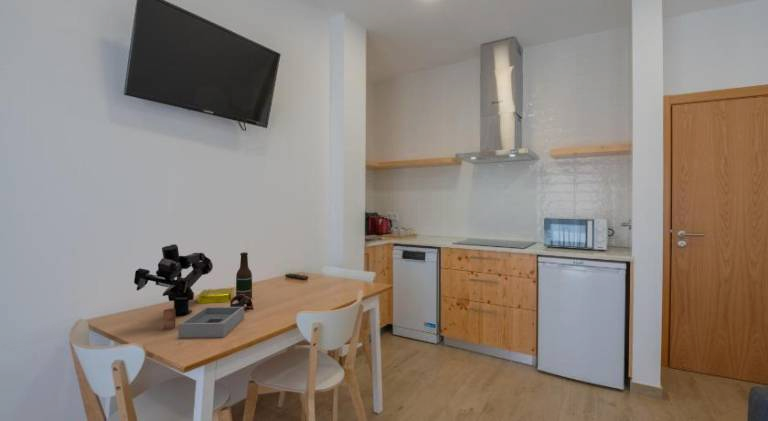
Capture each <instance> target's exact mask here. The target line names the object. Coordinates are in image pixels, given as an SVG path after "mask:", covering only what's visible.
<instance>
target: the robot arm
mask: <svg viewBox="0 0 768 421" xmlns="http://www.w3.org/2000/svg"><path fill="white" fill-rule="evenodd" d="M161 252H162V257H163V258H161V259H160V261H159V262H158V264H157V270H156V271H155V274H151V273H150V270H149V269H145V268H141V267H140V268H138V269H136V270H135V273H134V279H133V283H134V285H136V286H137V287H136V291H140V290H142V289H143V288H145V286H146V285H147V284H148V282H149V281H150V282H155V286H161V287H165V288H166V289H165V290H164V291H163V293H162V297H168V302H173V309H175V317H176V316H177V317H178V316H187V315H188V314H191V313H192V312H193V310H192V309H191V310H190V309H189V308H190V301H192V300H194V297H195V292H194V291H193V289H192V287H193V285H195V283H197V282H198V280H199V279H200V278H202V276H203V275H208V274H210V273H211V271H212V270H213V263H212V260H211V259H210V258H209V257H207V256H206V255H205V253H204V252H192V253H191V254H187V255H180V252H179V246H178V245H177V244H175V243H174V244H171V245H166V246H163V247H161ZM189 268H192V270H191V271H189V273H188V274H187V275H186V276H185V277H182V275H183V274H182V272H183V270H188V269H189ZM175 278H176V279H175Z"/></svg>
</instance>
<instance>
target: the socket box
mask: <svg viewBox="0 0 768 421" xmlns="http://www.w3.org/2000/svg"><path fill="white" fill-rule="evenodd" d="M244 319H245V306H244V307H230V306H218V307H217V306H206V307H203V308H202V309H201V310H199V311H197V312H196V313H193V314H192V315H191V316H189V317H188V318H185V320H183V321H181V322H179V323H178V329H177V330H178V332H177V333H178V334H177V335H178V337H177V338H178V339H192V338H193V339H195V338H196V339H197V338H199V339H200V338H202V339H203V338H204V339H205V338H224V337H226V335H228V334H229V333H230V332H231V331H232V330H233V329H234V328H235V327H236V326H238V325H239V324H240V323H241V322H242V321H244Z"/></svg>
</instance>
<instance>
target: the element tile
mask: <svg viewBox="0 0 768 421" xmlns="http://www.w3.org/2000/svg"><path fill="white" fill-rule="evenodd" d="M232 298H234V288H233V287H227V288H226V287H223V288H208V289H207V288H205V289H203V290H201V292H200V293H199V294H198V295H197V304H200V305H203V304H217V303H218V304H220V303H230V302H229V301H231V300H232Z"/></svg>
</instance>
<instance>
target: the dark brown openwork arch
mask: <svg viewBox="0 0 768 421" xmlns="http://www.w3.org/2000/svg"><path fill="white" fill-rule="evenodd" d="M236 301H237V302H236ZM252 301H253V300H252V299H250V298H249V297H248V296H245V295H244V294H239V295H237V296H236V295H235V296H233V297H232V299H231V301H230V302H229V303H230V304H229V305H230V306H229V307H244V308H245V306H246V308H251V309H252V310H254V304H253V302H252ZM235 302H236V303H235Z"/></svg>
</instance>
